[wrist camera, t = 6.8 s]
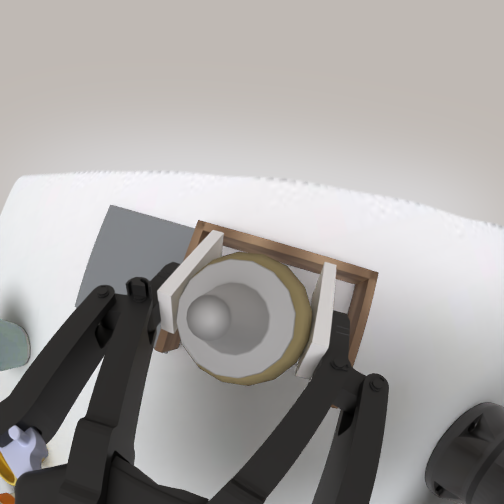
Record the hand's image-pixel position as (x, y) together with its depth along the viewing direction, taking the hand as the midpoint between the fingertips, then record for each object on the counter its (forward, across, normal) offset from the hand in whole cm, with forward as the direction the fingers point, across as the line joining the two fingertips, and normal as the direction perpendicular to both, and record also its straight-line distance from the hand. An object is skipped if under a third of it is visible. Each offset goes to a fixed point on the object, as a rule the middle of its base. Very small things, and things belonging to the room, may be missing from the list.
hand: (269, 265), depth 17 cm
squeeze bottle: (+3, 0, -8) cm, 9 cm away
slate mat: (+5, -16, -10) cm, 20 cm away
